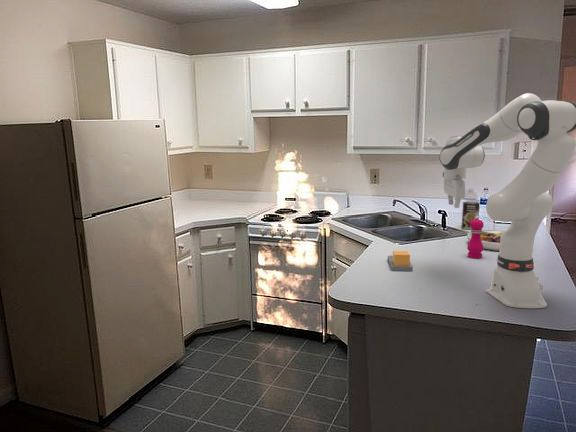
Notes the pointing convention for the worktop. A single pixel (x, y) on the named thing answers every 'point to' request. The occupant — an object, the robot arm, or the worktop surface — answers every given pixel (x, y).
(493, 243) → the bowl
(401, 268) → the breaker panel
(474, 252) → the pepper mill
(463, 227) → the coffee box
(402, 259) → the orange block
